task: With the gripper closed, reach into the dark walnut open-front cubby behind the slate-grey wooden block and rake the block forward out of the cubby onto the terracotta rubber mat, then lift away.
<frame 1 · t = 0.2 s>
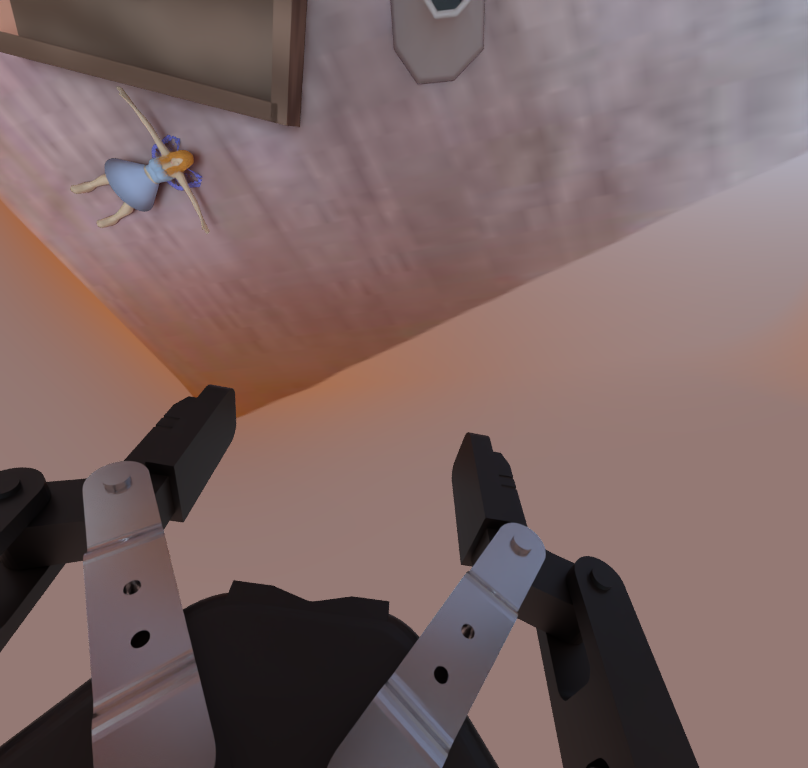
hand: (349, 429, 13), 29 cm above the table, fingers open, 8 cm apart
fairy figurine: (151, 180, 35), on the table
flask: (437, 25, 29), on the table
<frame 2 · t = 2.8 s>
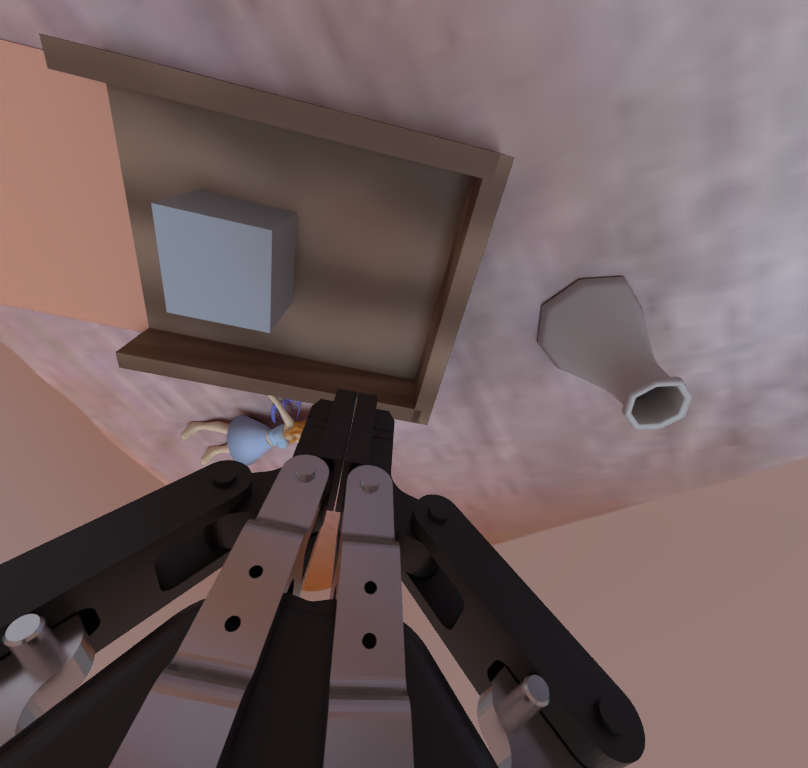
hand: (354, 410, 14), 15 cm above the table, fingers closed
walnut cubby: (295, 259, 26), on the table
fairy figurine: (261, 422, 34), on the table
slate block: (249, 250, 25), resting on walnut cubby
terracotta mat: (3, 194, 24), on the table
flask: (585, 322, 28), on the table
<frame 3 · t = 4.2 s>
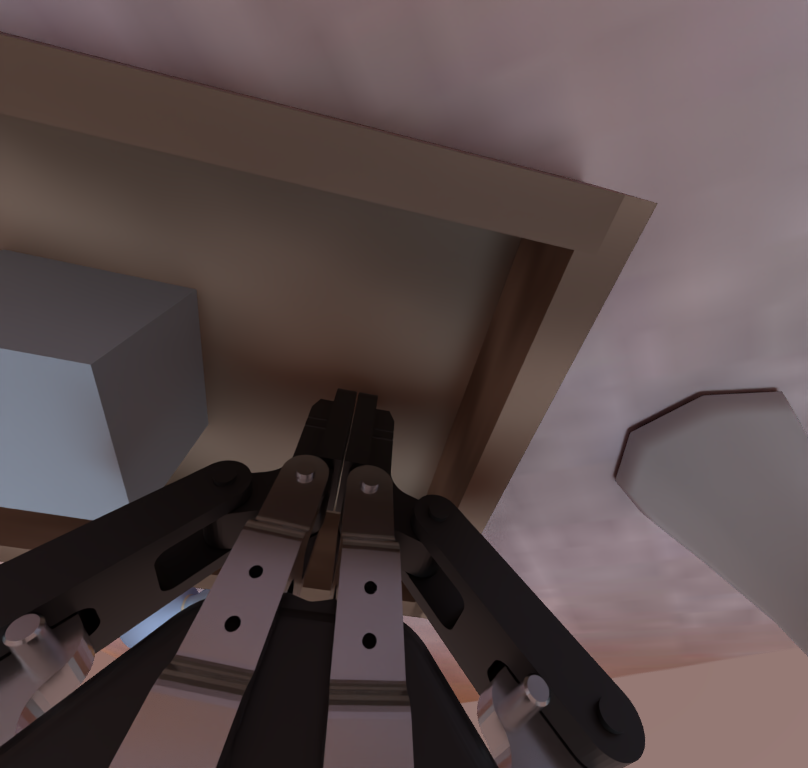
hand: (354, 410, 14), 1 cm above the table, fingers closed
walnut cubby: (205, 361, 15), on the table
fairy figurine: (186, 565, 23), on the table
slate block: (119, 348, 14), resting on walnut cubby
flask: (696, 451, 17), on the table
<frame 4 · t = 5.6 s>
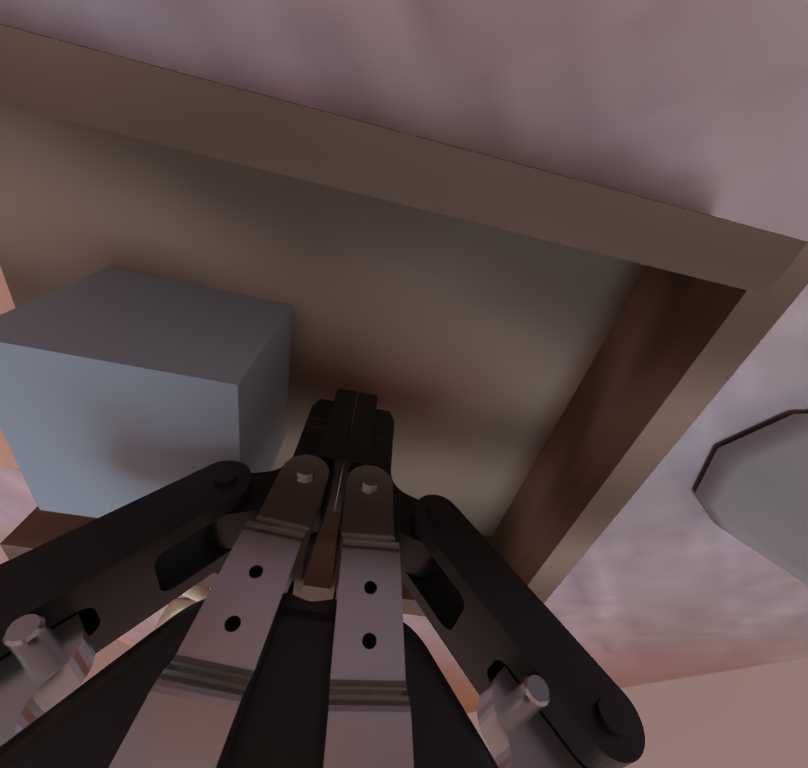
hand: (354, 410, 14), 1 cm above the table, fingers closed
walnut cubby: (315, 380, 15), on the table
fairy figurine: (252, 573, 24), on the table
slate block: (208, 362, 14), resting on walnut cubby, touching gripper
flask: (774, 465, 17), on the table
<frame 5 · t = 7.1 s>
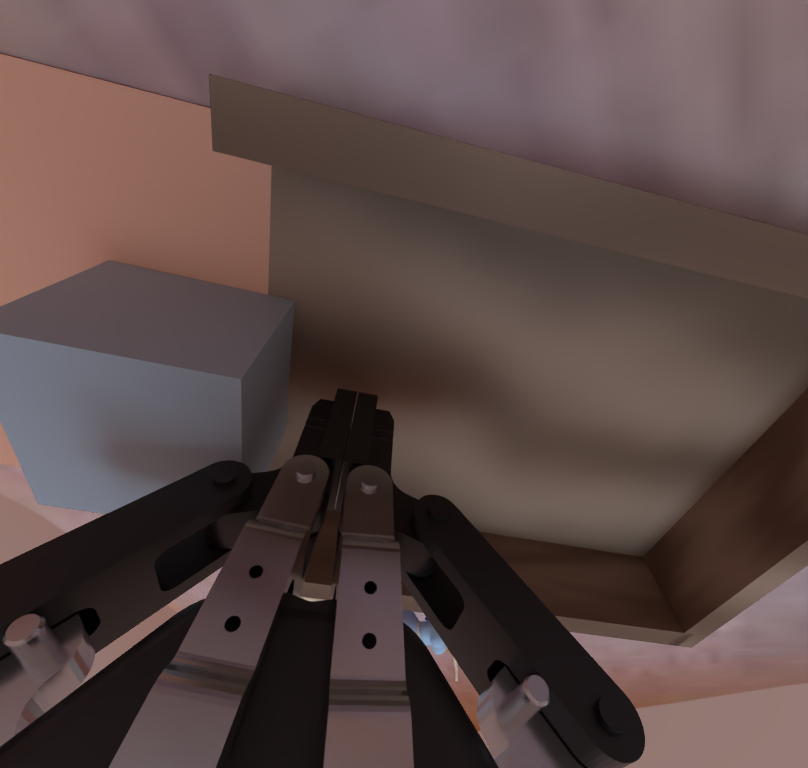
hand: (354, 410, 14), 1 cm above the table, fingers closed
walnut cubby: (522, 416, 16), on the table
fairy figurine: (389, 589, 24), on the table
slate block: (209, 357, 14), resting on terracotta mat, touching gripper
terracotta mat: (53, 326, 14), on the table
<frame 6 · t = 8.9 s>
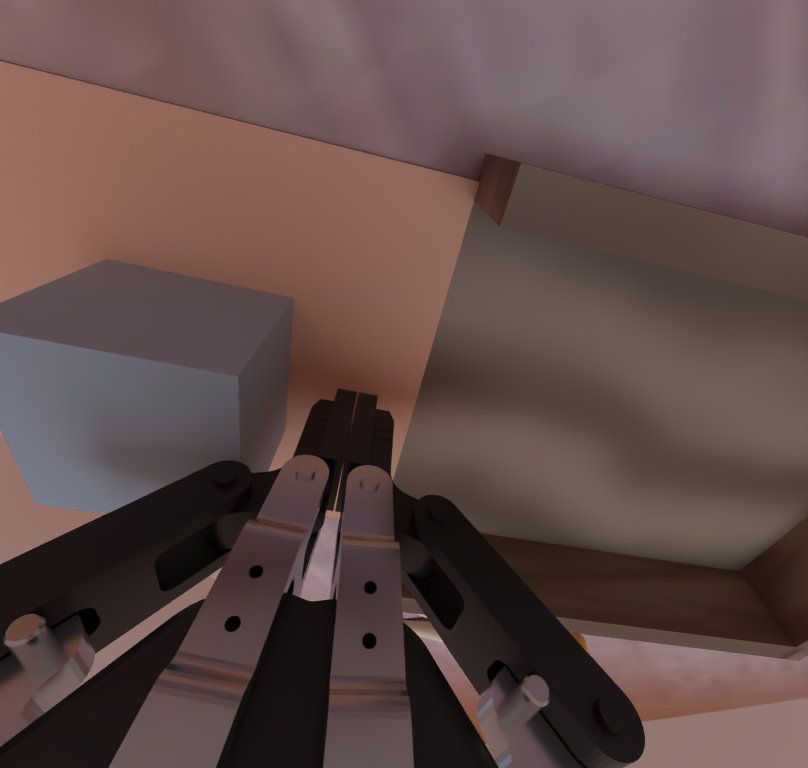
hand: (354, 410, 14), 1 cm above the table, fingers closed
walnut cubby: (651, 442, 17), on the table
fairy figurine: (477, 600, 25), on the table
slate block: (207, 356, 14), resting on terracotta mat, touching gripper
terracotta mat: (218, 362, 15), on the table
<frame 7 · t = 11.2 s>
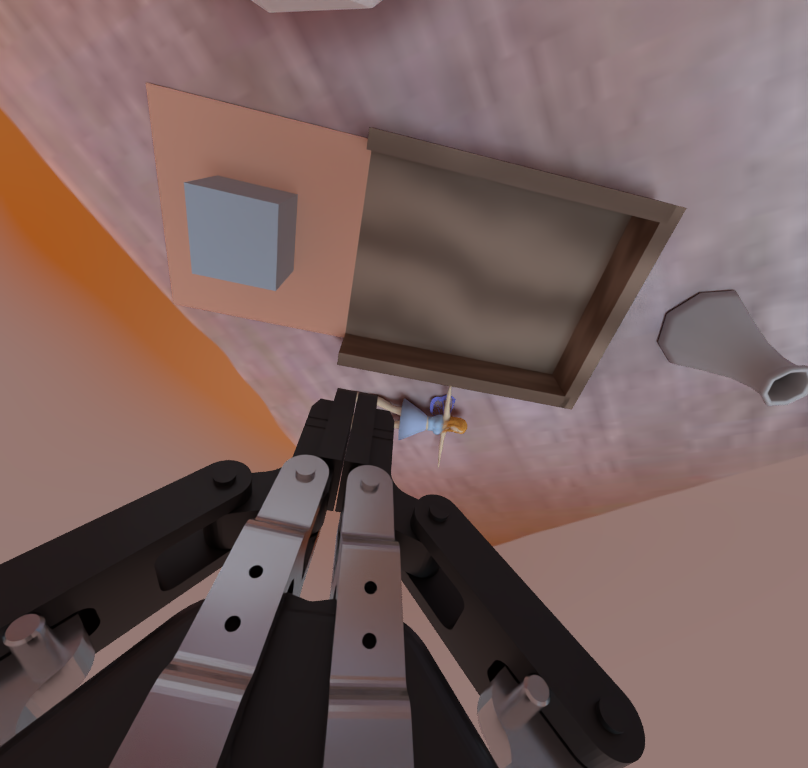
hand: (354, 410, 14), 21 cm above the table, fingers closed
walnut cubby: (478, 278, 33), on the table
fairy figurine: (408, 406, 41), on the table
slate block: (257, 226, 30), resting on terracotta mat
terracotta mat: (262, 230, 31), on the table
flask: (697, 326, 35), on the table
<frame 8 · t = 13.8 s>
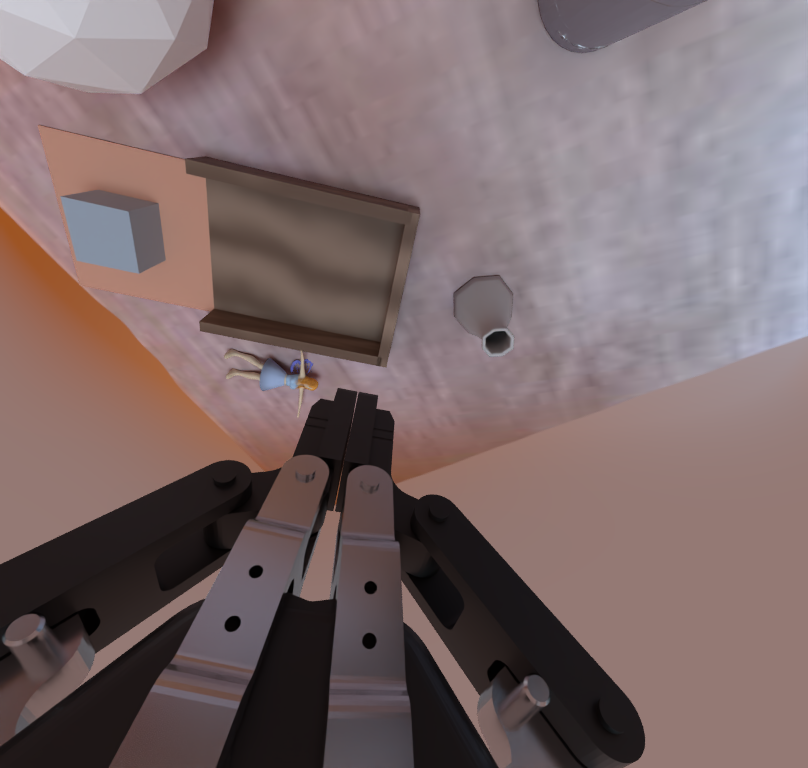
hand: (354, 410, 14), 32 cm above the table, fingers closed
walnut cubby: (305, 266, 43), on the table
fairy figurine: (277, 366, 51), on the table
slate block: (133, 226, 41), resting on terracotta mat
terracotta mat: (138, 229, 42), on the table
flask: (482, 303, 46), on the table
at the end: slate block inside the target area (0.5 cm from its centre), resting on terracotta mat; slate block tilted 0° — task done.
